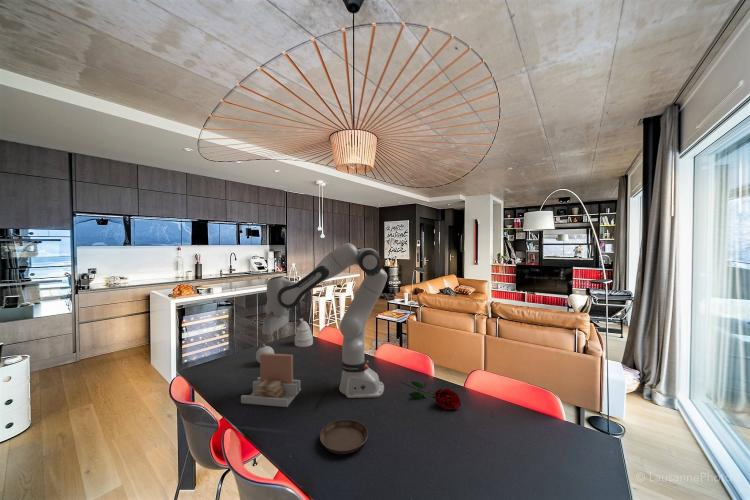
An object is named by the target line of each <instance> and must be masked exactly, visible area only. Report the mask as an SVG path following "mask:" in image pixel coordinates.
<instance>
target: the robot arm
mask: <svg viewBox="0 0 750 500" xmlns="http://www.w3.org/2000/svg"><path fill="white" fill-rule="evenodd" d="M381 261H382V260H381V256H380V254H379V252H378V251H377V250H375V249H374V248H372V247H368V246H367V247H358V248H357V247H356V246H355V244H353V243H351V242H346V243H344V244H342V245H339V246H337V247H336V248H335V249H333V250H332V251H331V252H329V253H328V254H327V255H325V256H324V257H323V258H322V259H321V260H320V262H319V263H318V264H317V265H316V266H315V267H314V268H313V270H311V271H310V272H309V273H308V274H307V275H305V276H304V277H303V278H301V279H300V280H299V281H297V282H295V281H292V280H289V279H288V278H286V277H285V276H284V275H279V276H273V277H270V278H269V279H268V280H267V284H266V293H265V294H266V299H267V301H266V310H265V311H266V314H265V317H264V318H263V319H262V326H261V333H262V335H267V337H268V342H269V343H273V342H274V339H275V337H274V336H273V334H274V332H277V331H278V330H279V331H278V336H283V335H284V329H285V326H286V325H287V324H288V323H289V321H290V309H293V308H295V307H296V306H297V305H298V304H299V303H300V302H301V301H303V300H304V298H305V297H306V294H307V293H309V292H310V291H311V290H312V289H313V288H315V287H316V286H317V285H320V283H323V282H325V281H326V280H329V279H333V278H334V277H336V276H337V275H339V274H341V273H343V271H345V270H347V269H348V268H349V267H351V266H353V265H358V267H359V268H360V270H361V271H363V272H364V273H365V275H364V278H363V280H362V282H361V283H360V285H359V287H358V289H357V291H356V293H355V295H354V296H353V298H352V300H351V302H350V304H349V306H348V307H347V310H345V313H344V315H343V316H342V318H341V321H340V324H339V331H340V333H341V335H342V336H343V337H342V338H343V339H342V346H341V347H342V348H341V349H342V350H341V351H342V356H341V357H342V360H341V363H340V364H341V365H340V366H341V368H340V369H341V379H340V385H339V387H338V389H339V392H340V393H341V394H343V395H344V396H346V398H349V399H355V398H359V399H361V398H379V397H381V396H382V395H383V394H384V391H385V384H384V383H383V382H382V381H380V377H379V374H378V373H377V372H376V371H374V370H373V369H371V368H370V367H369V360H366V359H365V337H366V323H367V321H368V320H369V318H370V316H371V313H372V311H373V309H374V308H375V305H376V304H377V302H378V301H379V298H380V296H381V294H382V292H383V290H384V288H385V286H386V283H387V281H388V274H387V272H386V271H385V269H383V268H382V265H381V263H382V262H381Z"/></svg>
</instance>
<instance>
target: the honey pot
mask: <svg viewBox="0 0 750 500" xmlns="http://www.w3.org/2000/svg"><path fill="white" fill-rule="evenodd" d="M299 322H300V324H299V326H297V327H296V329H295V330H296V333H295V336H294V346H295V347H299V348H304V347H306V348H307V347H310V346H312V345H313V344H314V339H313V338H314V335H313V333H312V331H311V326H309V324H308V322H307V321H305V320H304V318H299Z"/></svg>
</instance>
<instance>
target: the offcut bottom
mask: <svg viewBox="0 0 750 500" xmlns="http://www.w3.org/2000/svg"><path fill="white" fill-rule="evenodd" d="M255 396H256V395H255ZM261 397H262V396H261ZM284 397H285V391H282V393H281V394H280V395H279V396H278V397H277V398H284ZM273 398H274V397H273Z"/></svg>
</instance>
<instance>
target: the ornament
mask: <svg viewBox="0 0 750 500" xmlns="http://www.w3.org/2000/svg"><path fill="white" fill-rule="evenodd" d="M262 353H271V354H275V350H274V349H273V348H272V347H271V346H269V345H266V344H265V343H262V346H261V347H260V348H258V349H257V351H256V353H255V359H256V362H258V363H259V364H260V354H262Z"/></svg>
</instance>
